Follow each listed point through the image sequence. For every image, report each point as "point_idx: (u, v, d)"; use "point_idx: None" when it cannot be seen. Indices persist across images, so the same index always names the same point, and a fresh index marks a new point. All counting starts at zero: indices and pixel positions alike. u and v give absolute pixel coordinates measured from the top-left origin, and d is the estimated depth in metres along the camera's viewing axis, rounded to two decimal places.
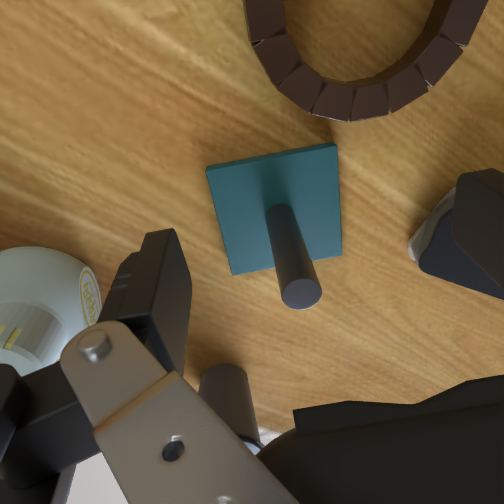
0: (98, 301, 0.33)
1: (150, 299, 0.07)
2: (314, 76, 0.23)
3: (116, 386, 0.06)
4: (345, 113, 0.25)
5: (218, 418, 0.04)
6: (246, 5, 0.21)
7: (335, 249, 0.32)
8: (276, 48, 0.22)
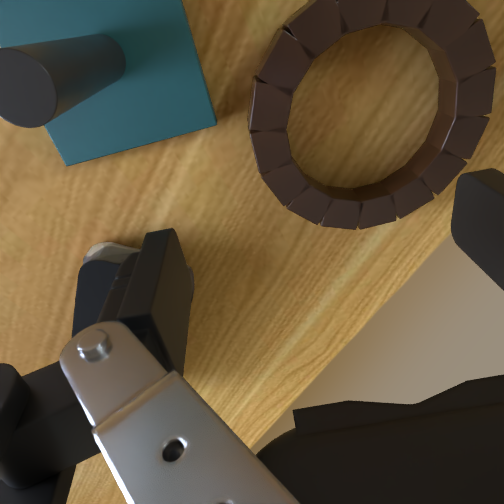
0: None
1: (150, 299, 0.07)
2: (297, 78, 0.20)
3: (116, 386, 0.06)
4: (259, 125, 0.21)
5: (218, 418, 0.04)
6: None
7: (72, 154, 0.23)
8: (327, 22, 0.19)
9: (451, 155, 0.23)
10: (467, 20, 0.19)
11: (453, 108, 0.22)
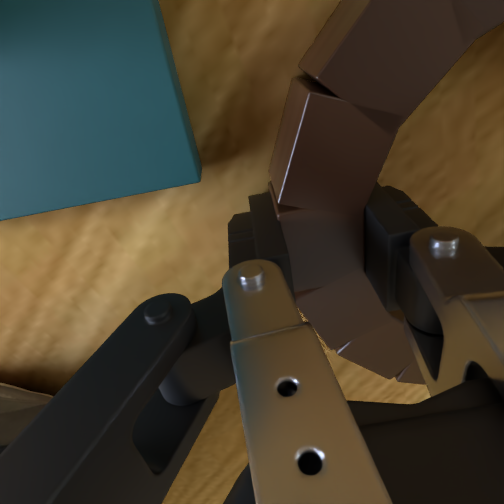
0: None
1: (283, 244, 0.08)
2: (420, 89, 0.08)
3: (258, 317, 0.06)
4: (302, 196, 0.09)
5: (335, 381, 0.04)
6: None
7: None
8: None
9: None
10: None
11: None
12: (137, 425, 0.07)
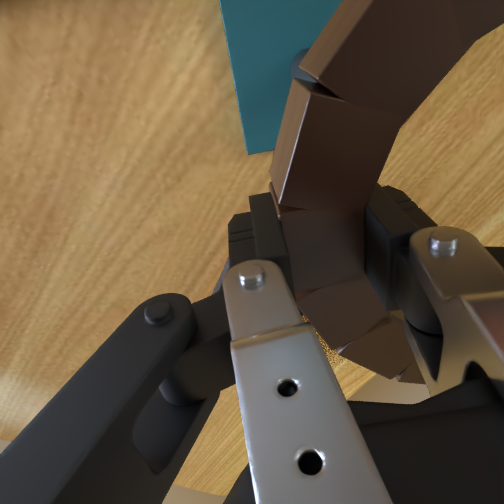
0: None
1: (283, 244, 0.08)
2: (420, 90, 0.08)
3: (258, 317, 0.06)
4: (303, 196, 0.09)
5: (335, 381, 0.04)
6: None
7: (256, 145, 0.27)
8: None
9: None
10: None
11: None
12: (137, 425, 0.07)
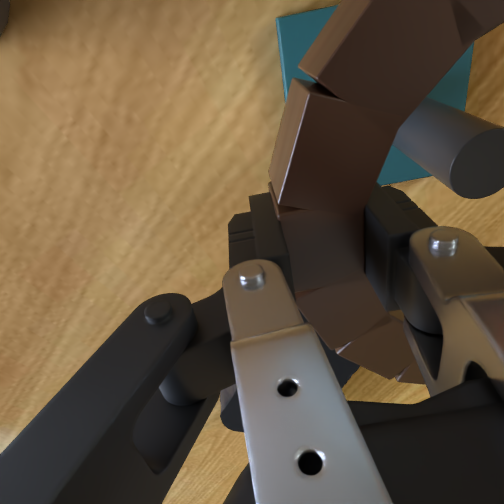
0: None
1: (283, 244, 0.08)
2: (419, 90, 0.08)
3: (258, 317, 0.06)
4: (302, 196, 0.09)
5: (336, 381, 0.04)
6: None
7: None
8: None
9: None
10: None
11: None
12: (137, 425, 0.07)
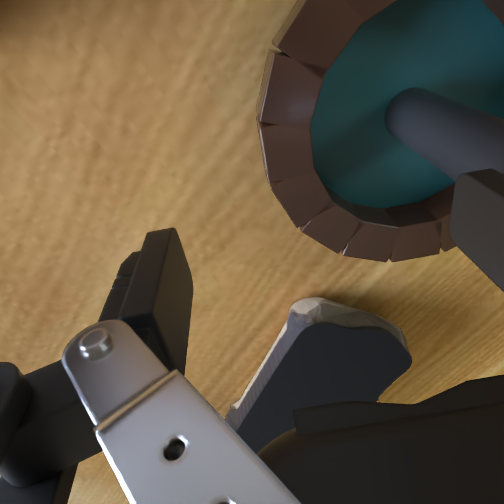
0: None
1: (152, 298, 0.07)
2: (333, 52, 0.14)
3: (118, 385, 0.06)
4: (273, 116, 0.15)
5: (219, 417, 0.04)
6: None
7: None
8: None
9: None
10: None
11: None
12: None
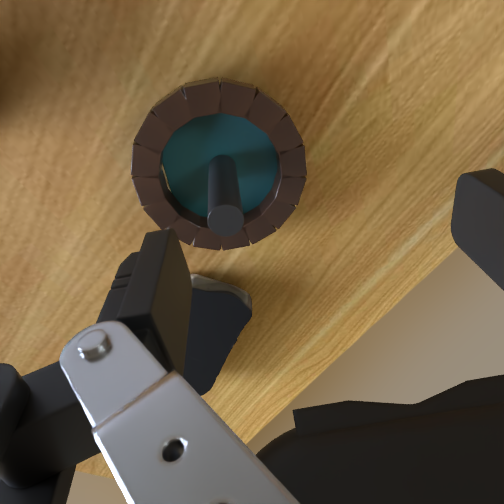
0: None
1: (150, 299, 0.07)
2: (163, 143, 0.29)
3: (116, 386, 0.06)
4: (137, 172, 0.30)
5: (218, 418, 0.04)
6: (208, 83, 0.27)
7: None
8: (180, 110, 0.27)
9: (283, 202, 0.32)
10: (278, 115, 0.28)
11: (280, 170, 0.31)
12: None
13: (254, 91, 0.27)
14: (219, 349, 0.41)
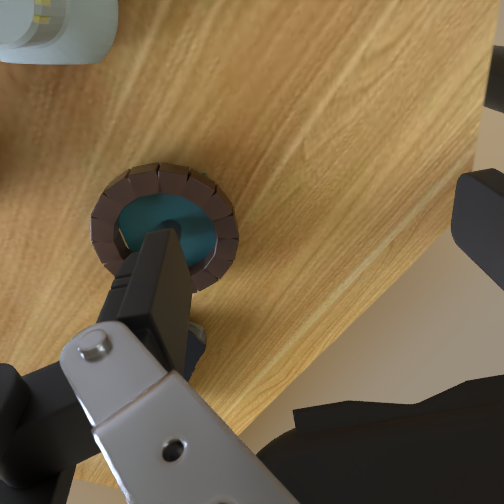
0: None
1: (150, 299, 0.07)
2: (115, 216, 0.35)
3: (116, 386, 0.06)
4: (96, 238, 0.36)
5: (218, 418, 0.04)
6: (147, 172, 0.33)
7: None
8: (126, 192, 0.34)
9: (221, 258, 0.38)
10: (208, 193, 0.34)
11: (216, 233, 0.37)
12: None
13: (186, 176, 0.33)
14: None
